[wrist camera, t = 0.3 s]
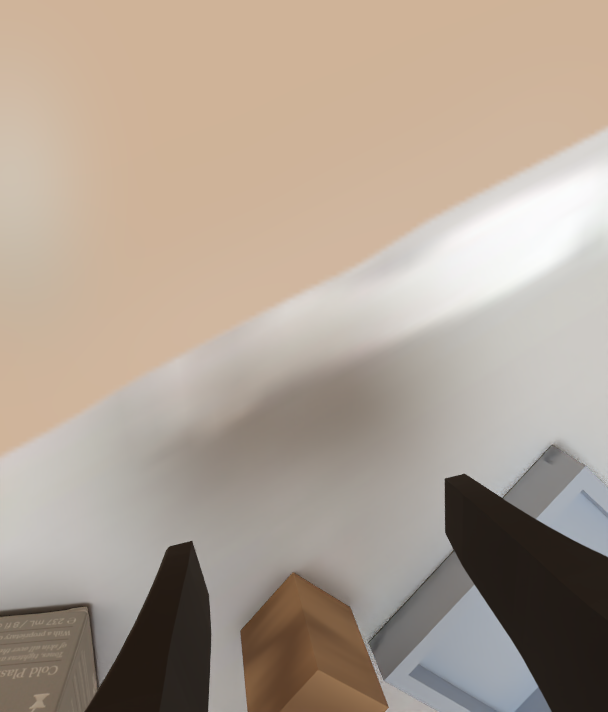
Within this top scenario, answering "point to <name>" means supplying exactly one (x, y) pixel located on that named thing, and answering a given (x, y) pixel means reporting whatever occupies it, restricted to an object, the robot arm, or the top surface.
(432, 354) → the top surface
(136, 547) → the top surface
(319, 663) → the walnut block
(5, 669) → the skincare box
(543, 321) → the top surface
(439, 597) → the tray
